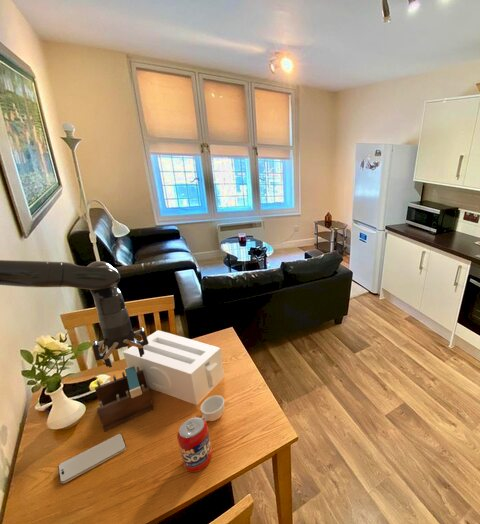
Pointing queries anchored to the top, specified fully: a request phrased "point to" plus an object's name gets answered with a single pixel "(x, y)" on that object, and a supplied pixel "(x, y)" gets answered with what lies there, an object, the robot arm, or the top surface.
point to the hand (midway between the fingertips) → (126, 360)
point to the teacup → (212, 408)
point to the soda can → (195, 444)
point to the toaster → (178, 366)
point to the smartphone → (91, 458)
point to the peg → (133, 381)
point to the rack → (122, 401)
